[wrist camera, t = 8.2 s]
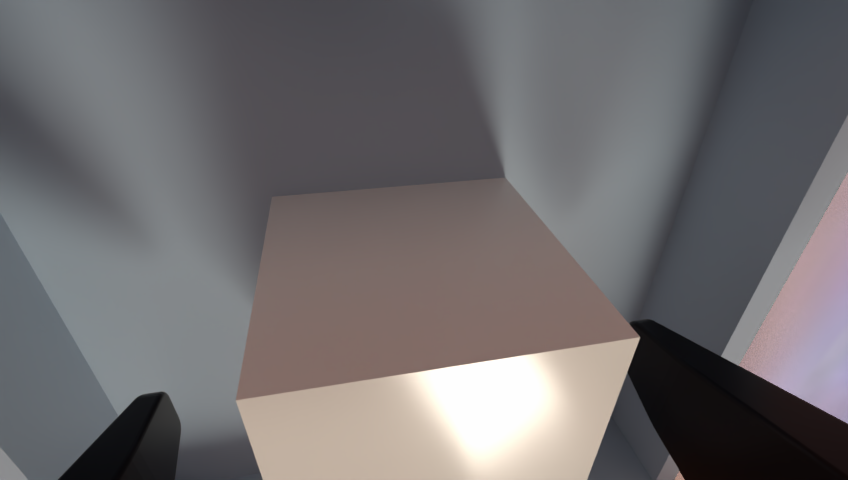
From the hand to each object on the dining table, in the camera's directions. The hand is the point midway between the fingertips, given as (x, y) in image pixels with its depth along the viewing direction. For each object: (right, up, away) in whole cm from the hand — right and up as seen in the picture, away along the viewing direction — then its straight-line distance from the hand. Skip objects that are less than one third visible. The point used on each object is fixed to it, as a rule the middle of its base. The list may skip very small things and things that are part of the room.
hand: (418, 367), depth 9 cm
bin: (-1, +2, +3) cm, 4 cm away
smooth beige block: (0, +2, +2) cm, 3 cm away
